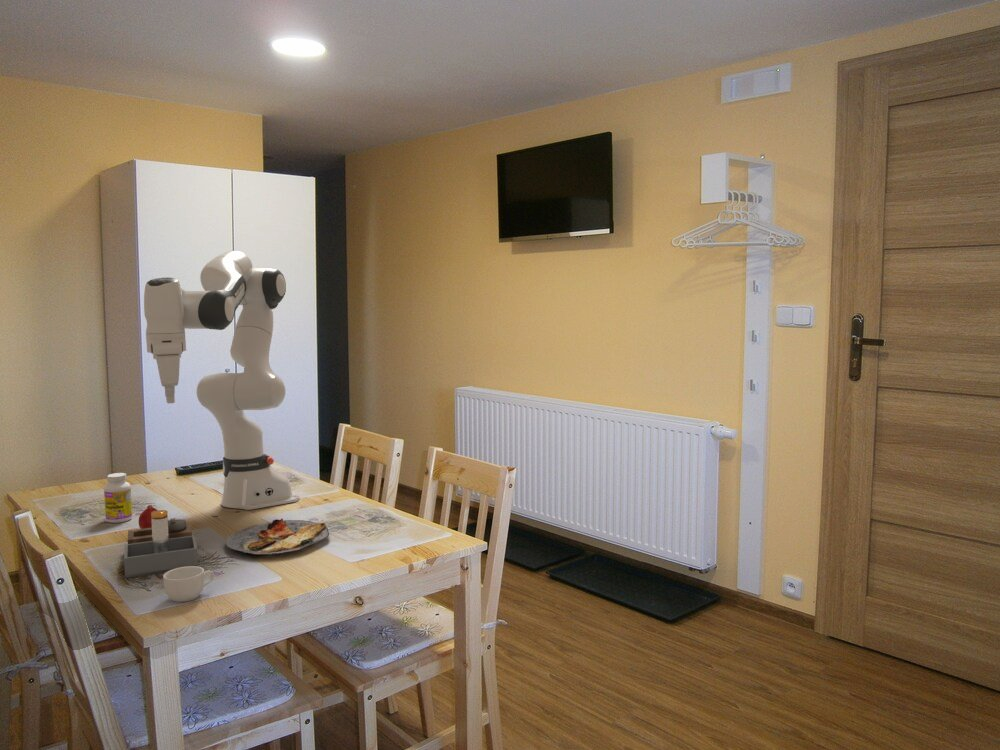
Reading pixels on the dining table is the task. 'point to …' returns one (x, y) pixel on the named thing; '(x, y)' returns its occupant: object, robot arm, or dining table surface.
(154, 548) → the pin
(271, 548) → the food plate
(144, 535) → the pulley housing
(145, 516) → the red round piece
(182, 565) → the parts tray
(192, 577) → the teacup
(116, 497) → the supplement bottle
